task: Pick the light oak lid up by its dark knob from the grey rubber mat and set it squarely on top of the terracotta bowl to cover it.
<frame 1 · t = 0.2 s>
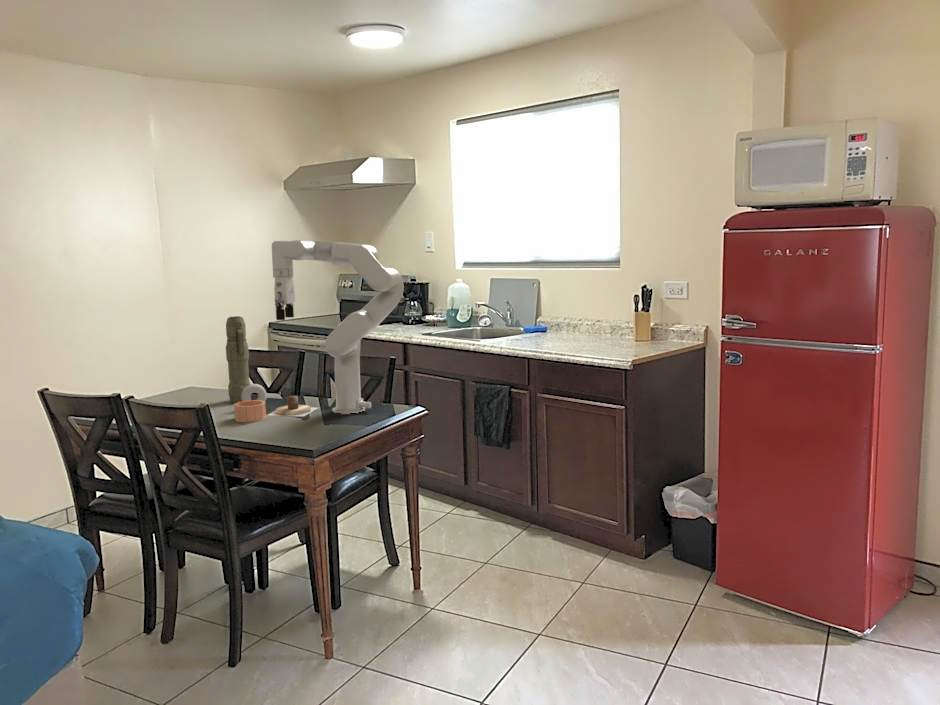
hand: (285, 318, 283), 36 cm above the table, tool pointing down, fingers open, 9 cm apart
bowl: (250, 419, 274), on the table
donut: (254, 409, 291), on the table
mat: (293, 412, 284), on the table
lid: (293, 411, 284), resting on mat
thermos: (240, 401, 307), on the table
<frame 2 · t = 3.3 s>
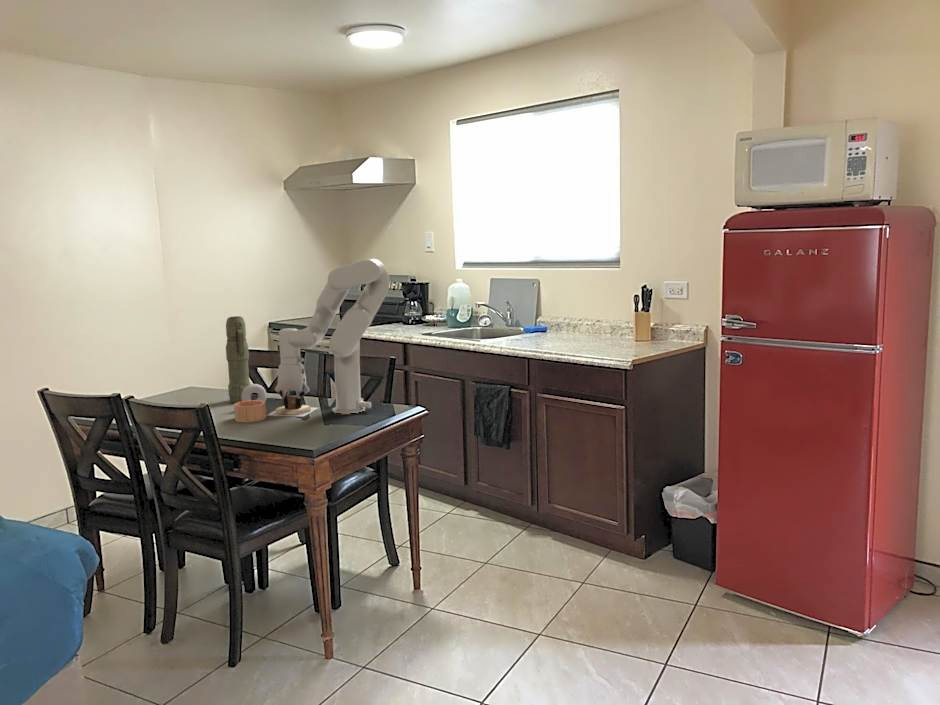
hand: (293, 407, 284), 2 cm above the table, tool pointing down, fingers closed on lid, 4 cm apart
lid: (293, 411, 284), resting on mat, touching gripper
everything else where it was.
when the fingers open (9 cm above the table, at t = 7.9 s): lid drops 2 cm, resting on bowl.
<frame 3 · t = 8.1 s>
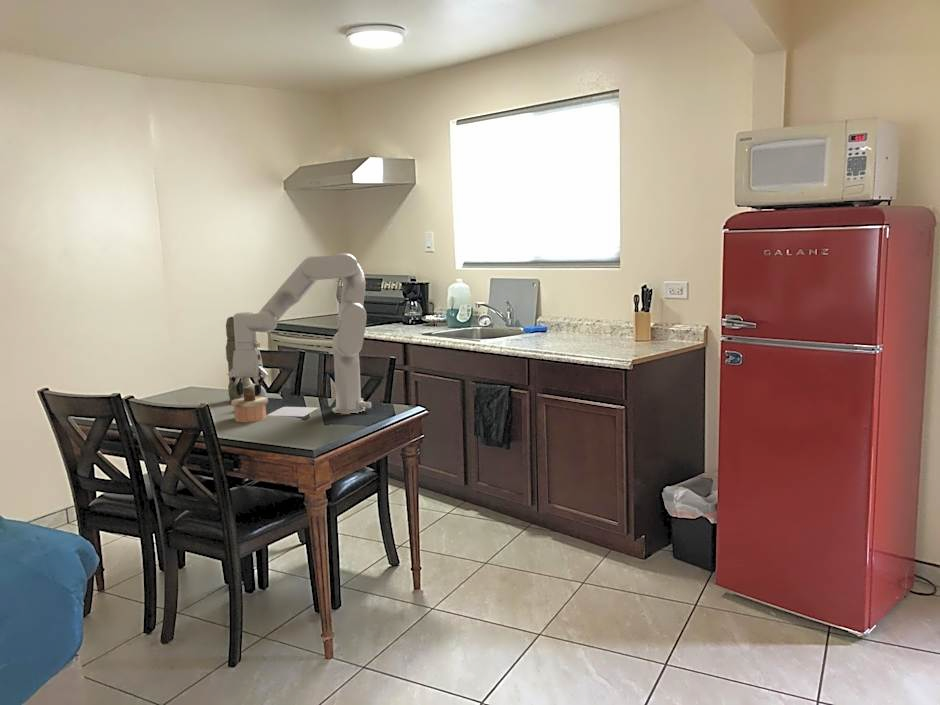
hand: (249, 394, 272), 9 cm above the table, tool pointing down, fingers open, 6 cm apart
lid: (249, 403, 273), point 6 cm above the table, touching bowl
everything else where it was.
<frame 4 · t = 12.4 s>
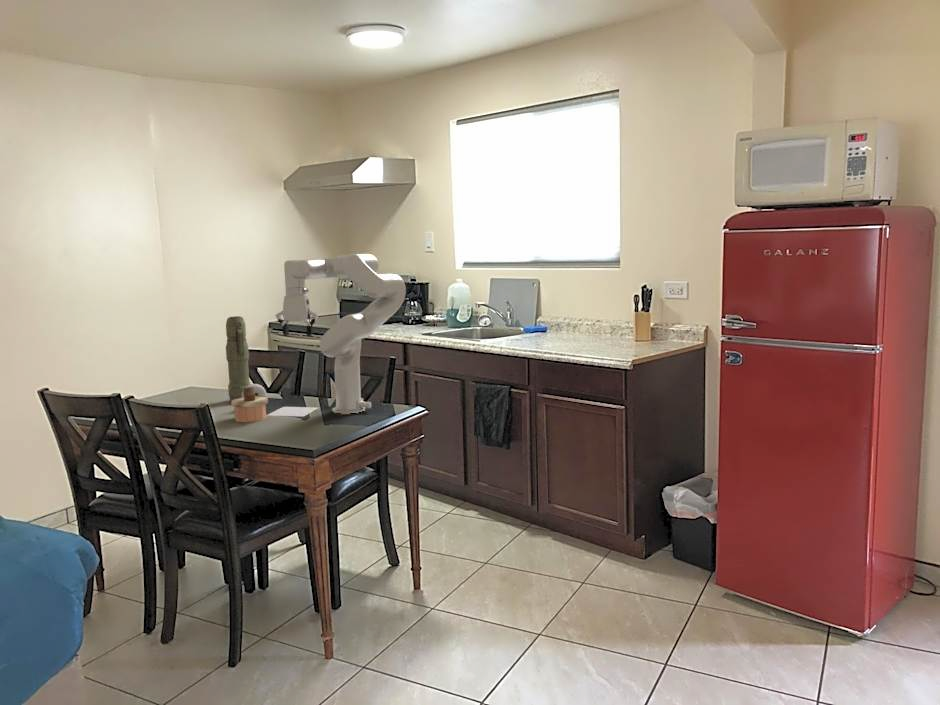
hand: (297, 335, 290), 28 cm above the table, tool pointing down, fingers open, 9 cm apart
nothing on the table moved.
at the end: lid 0.1 cm off-centre on the bowl, point 6.0 cm above the bowl's base; lid tilted 0°; the gripper is holding nothing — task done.
